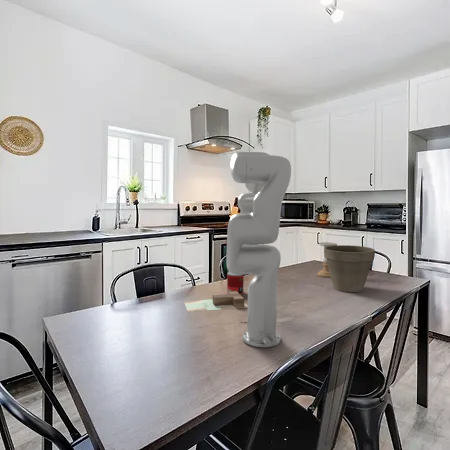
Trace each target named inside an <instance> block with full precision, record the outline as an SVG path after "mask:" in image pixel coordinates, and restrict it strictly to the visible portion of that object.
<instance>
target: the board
mask: <svg viewBox="0 0 450 450" xmlns="http://www.w3.org/2000/svg"><path fill="white" fill-rule="evenodd" d="M202 300H203V299H200V300H198V299H197V300H184V301H183V303H184V305H185V304H194V303H203V302H202ZM219 306H220V308H221V309H222V310H233V309H245V308H247V309H248V303H246V302H245V301H244V307H236V308H235V307H234V306H233V305H219ZM186 311H187V313H194V312H207V309H206V307H204V308H190V309H186Z"/></svg>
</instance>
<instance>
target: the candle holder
mask: <svg viewBox="0 0 450 450" xmlns="http://www.w3.org/2000/svg"><path fill="white" fill-rule="evenodd" d="M318 244H319V245H320V247H321V246H322V247H323V248H324V247H327V246H335V245H338V243H336V242H328V241H327V242H319V243H318ZM322 262H323V263H322V266H323V269H321V270H319V271H317V272H316V276H318V277H321V278H329V279H331V276H330V272H329V269H328V265H327V260H326V258H325V257H324V256H323V259H322Z"/></svg>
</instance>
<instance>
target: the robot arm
mask: <svg viewBox="0 0 450 450" xmlns="http://www.w3.org/2000/svg"><path fill="white" fill-rule="evenodd" d="M229 165H230V166H229V171H230V175H231V176H232V179H233V181H234V182H236V183H238V184H244V185H245V188H246V189H247V190H248V191H249V192H248V193H246V192H245V193H244V192H243V193H240V195H239V196H238V197H237V206H238V208H239V210H240V213H236V214H233V215H231V217H230V219H229V220H228V223H227V234H226V235H227V238H226V256H225V257H226V260H225V261H226V263H225V264H226V269H227V272H230V273H232V274H244V275H254V276H253V278H251V280H250V281H249V284H248V286H247V305H248V308H247V319H246V320H247V325H246V327H247V328H246V329H247V330H245V331H244V332H243V333H242V341H243V342H244V343H245V344H247V345H250V346H252V347H254V348H255V347H256V348H273V347H275V346H277V345H279V344H280V343H281V341H282V340H281V339H282V336H281V335H280V334H279V333H278V332H277V313H278V311H277V306H278V303H277V302H278V299H277V298H278V278H279V272H280V265H281V252H280V250H279V249H278V247H276V246H273V245H269V244H274V243H275V242H276V241H277V240H278V237H279V232H280V225H281V224H280V223H281V216H282V215H281V214H282V213H281V212H282V204H283V200H284V197H285V195H286V193H287V191H288V188H289V185H290V183H291V177H292V165H291V162H290V160H289V159H288V158H286V157H283V156H281V155H274V154H273V155H271V154H269V153H267V152H263V151H236V152H234V154H233V155H232V156H231V160H230V164H229Z"/></svg>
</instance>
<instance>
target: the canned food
mask: <svg viewBox="0 0 450 450" xmlns="http://www.w3.org/2000/svg"><path fill="white" fill-rule="evenodd" d="M244 275H245V274H232V273H230V272H229V271H227V274H226V278H227V279H226V287H227V288H226V290H227V293H226V294H228V291H237V292H238V293H239V294H240V295H241V296H242V295H243V294H244V279H245V278H244V277H245V276H244Z"/></svg>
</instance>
